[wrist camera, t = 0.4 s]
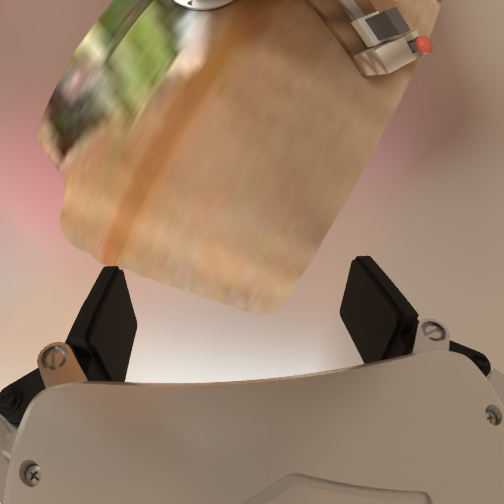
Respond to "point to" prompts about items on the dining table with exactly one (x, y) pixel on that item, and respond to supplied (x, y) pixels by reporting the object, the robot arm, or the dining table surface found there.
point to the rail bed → (365, 58)
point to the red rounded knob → (421, 44)
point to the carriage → (380, 26)
